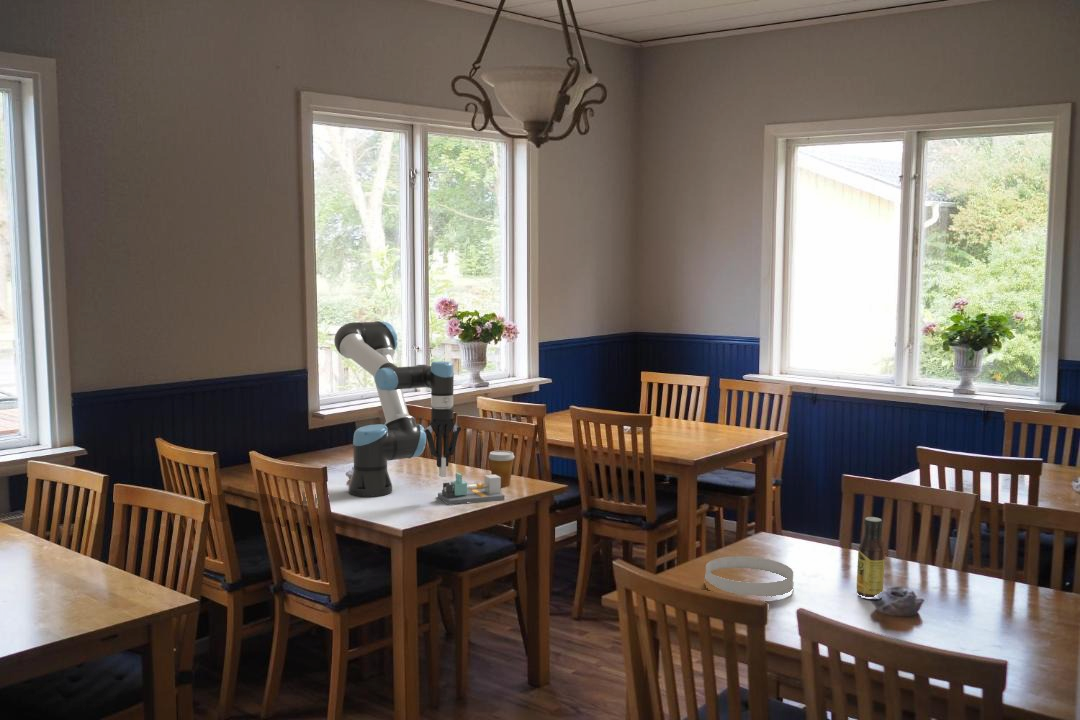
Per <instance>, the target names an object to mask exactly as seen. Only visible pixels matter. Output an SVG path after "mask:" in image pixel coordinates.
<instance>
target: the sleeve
mask: <svg viewBox="0 0 1080 720" xmlns="http://www.w3.org/2000/svg"><path fill="white" fill-rule="evenodd" d="M450 484H452V485H453V486H454V491H453V493H454V496H458V495H467V485H468V482H466V481H464V480H463V474H461V473H460V472H455V481H450Z"/></svg>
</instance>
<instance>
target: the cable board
mask: <svg viewBox="0 0 1080 720" xmlns="http://www.w3.org/2000/svg"><path fill="white" fill-rule="evenodd" d="M442 485H443V486H442V489H441V492H438V493H437V498H438V497H439V498H438V499H440V498H441V499H442V500H441V499H440V500H441V501H443V500H444V501H445V502H444V501H443V502H444V503H446V502H447V503H448V505H449V504H454V505H459V504H458V503H465V504H468V503H467V502H475V503H482V502H492V501H503V500H504V501H505V495H504V494H503V493H501V489H502V487H501V477H499V476H497V475H492V474H485V475H484V483H475V484H467V495H458V496H454V493H453V491H454V486H453V485H452V484H451V482H443V483H442ZM447 503H446V504H447Z"/></svg>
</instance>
